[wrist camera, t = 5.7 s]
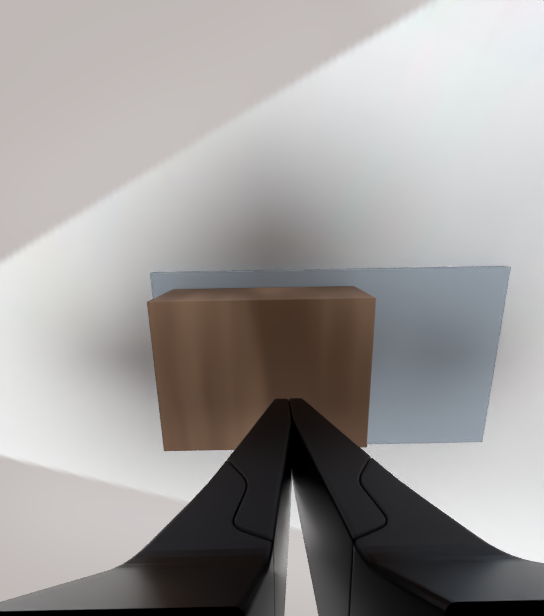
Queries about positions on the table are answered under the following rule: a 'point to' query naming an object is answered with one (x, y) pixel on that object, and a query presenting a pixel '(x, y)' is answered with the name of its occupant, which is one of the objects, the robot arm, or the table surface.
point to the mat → (407, 341)
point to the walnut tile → (259, 359)
